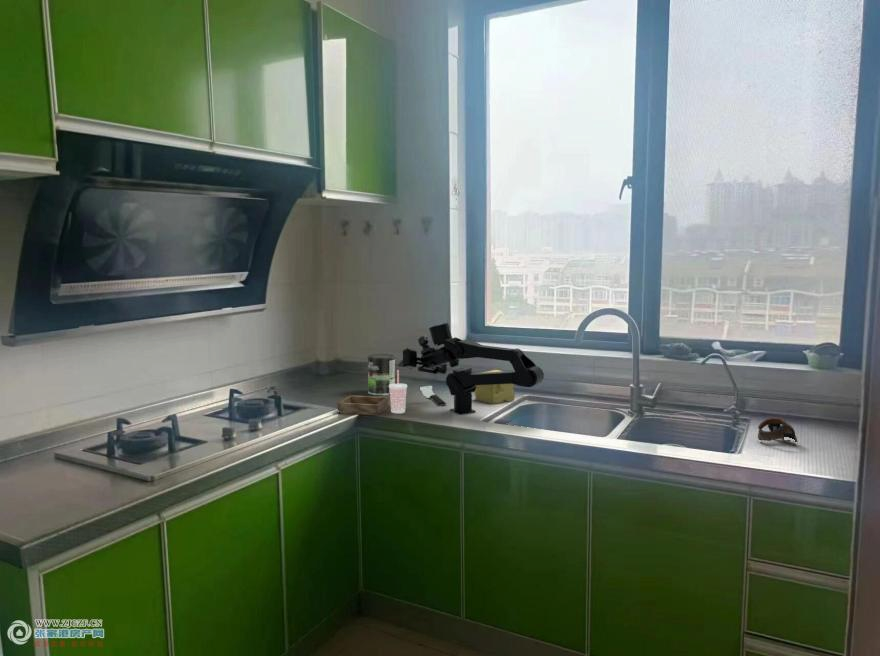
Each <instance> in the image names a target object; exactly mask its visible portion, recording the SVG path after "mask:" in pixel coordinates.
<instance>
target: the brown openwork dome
mask: <svg viewBox="0 0 880 656" xmlns="http://www.w3.org/2000/svg"><path fill="white" fill-rule="evenodd" d="M766 426H767V427H768V431H767V430H763V428H765V427H766ZM757 428H758V433H757V439H759V440H761V441H767V442H771V441H775V440H782V441H783V440H784V437H789V438H792V439H794V440H795V442H797V443H798V438H797V435H796V431H795V429H794V428H793V426H792V425H791V424H789V423H788V422H787V421H785V419H783V418H782V417H769V418H767V419H765V420H763V421H762V422H759V424H758V427H757ZM759 440H758V441H759Z"/></svg>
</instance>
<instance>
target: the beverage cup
mask: <svg viewBox="0 0 880 656" xmlns="http://www.w3.org/2000/svg"><path fill="white" fill-rule="evenodd" d="M396 371H397V373H396V374H397V376H396V377H397V378H396V379H397V380H396V381H397V383H395V384H390V385H389V388H390V395H389V397H390V398H389V399H390V413H393V414H403V413H405V412H406V406H407V405H406V404H407V403H406V401H407V398H406V397H407V388H408V384H407V383H401V382H400V370H399V369H397V370H396Z"/></svg>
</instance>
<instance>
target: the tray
mask: <svg viewBox="0 0 880 656" xmlns="http://www.w3.org/2000/svg"><path fill="white" fill-rule="evenodd" d="M389 397H390V396H373V395H371V396H369V395H351V394H350V395H348V396H346V397H345V398H343V399H342V400H340V401H339V402H337V404H336V405H337V406H336V407H337V411H338V410H339V412H340V413H339V414H346V415H348V414H349V415H364V416H365V415H367V416H368V415H369V416H380V414H381V413H384V412H385V411H386V409H388V408H389V407H390V406H389V405H390V404H389V399H390V398H389Z"/></svg>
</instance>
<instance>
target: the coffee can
mask: <svg viewBox="0 0 880 656" xmlns="http://www.w3.org/2000/svg"><path fill="white" fill-rule="evenodd" d="M395 361H396V355H394V354H391V353H375V354H369V355H368V356H367V362H368V363H367V369H368V370H367V371H368V372H367V374H368V375H367V394H369V395H371V396H390V395H389V394H390V388H389V385H390V384H396V383H395V382H396V378H395V377H396V376H395V375H396V374H395V373H396V371H395V370H396V368H395V367H396V364H395V363H396V362H395Z"/></svg>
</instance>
